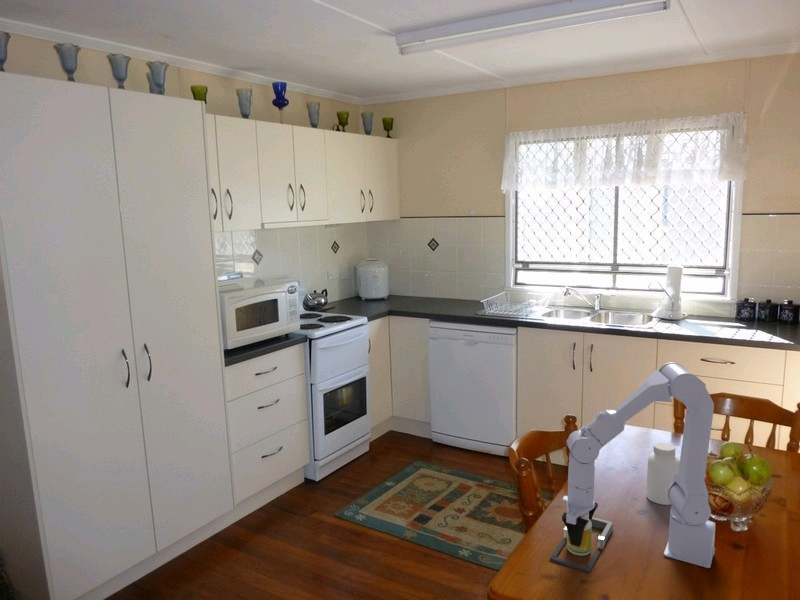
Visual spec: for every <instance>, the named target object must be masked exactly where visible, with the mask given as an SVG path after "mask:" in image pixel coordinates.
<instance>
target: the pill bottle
mask: <svg viewBox="0 0 800 600" xmlns="http://www.w3.org/2000/svg"><path fill="white" fill-rule="evenodd" d="M679 464H680V458H679V457H677V455H676V447H675V445H673V444H671V443H669V442H656V443H654V444H653V452H651V453H650V454H649V455H648V457H647V471H646V473H647V474H646V486H645V487H646V488H645V489H646V491H645V493H646V494H645V495H646V498H648V500H649V501H651V502H652V503H655V504H658V505H663V506H670V505H671V506H672V502H670V500H669V499H668V496H667V491H668V488H669V486H670V485H671V484H672V482H673V477H674V475H675V474H677V473H678V472H679Z"/></svg>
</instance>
